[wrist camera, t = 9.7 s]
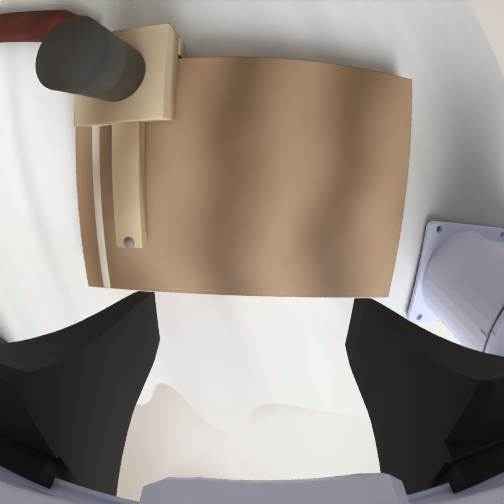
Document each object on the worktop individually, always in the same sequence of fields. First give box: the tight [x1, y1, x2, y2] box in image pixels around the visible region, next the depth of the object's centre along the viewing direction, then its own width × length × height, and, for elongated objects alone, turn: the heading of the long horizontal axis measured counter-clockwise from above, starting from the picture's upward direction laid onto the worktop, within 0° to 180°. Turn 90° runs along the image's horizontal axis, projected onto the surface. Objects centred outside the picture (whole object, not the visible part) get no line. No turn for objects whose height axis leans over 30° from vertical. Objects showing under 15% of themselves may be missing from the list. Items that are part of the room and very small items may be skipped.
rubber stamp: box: [36, 16, 186, 249], centre depth 14 cm, size 5×12×9 cm, turn 178°
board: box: [76, 57, 412, 297], centre depth 18 cm, size 20×14×2 cm
